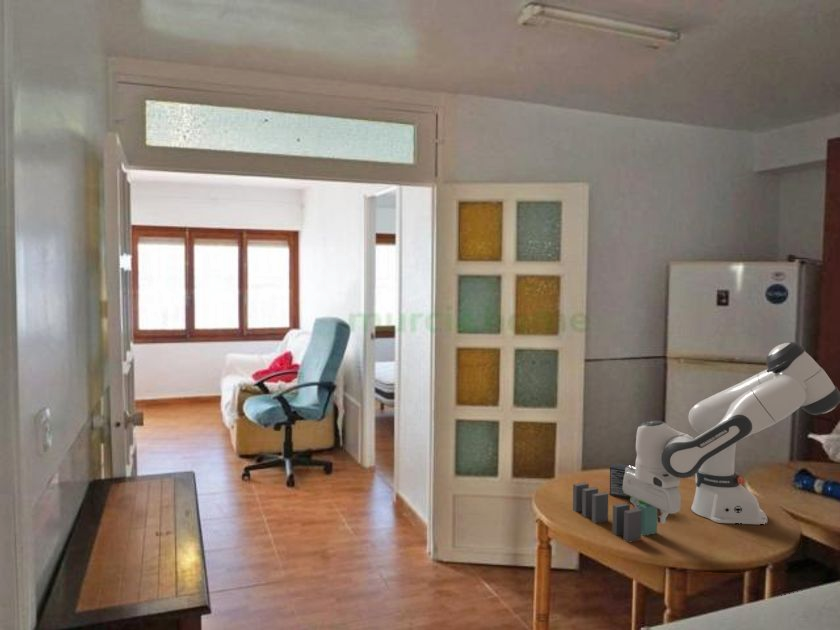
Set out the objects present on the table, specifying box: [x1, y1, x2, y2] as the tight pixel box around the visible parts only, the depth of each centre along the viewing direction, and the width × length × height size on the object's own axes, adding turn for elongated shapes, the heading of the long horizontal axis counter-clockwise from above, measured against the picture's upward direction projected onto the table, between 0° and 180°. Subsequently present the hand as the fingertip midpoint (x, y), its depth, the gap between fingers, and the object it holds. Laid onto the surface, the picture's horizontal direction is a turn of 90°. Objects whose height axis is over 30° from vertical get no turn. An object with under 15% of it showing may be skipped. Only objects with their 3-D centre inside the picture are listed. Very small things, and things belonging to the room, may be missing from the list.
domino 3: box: [591, 491, 609, 524], centre depth 195 cm, size 2×5×9 cm, turn 112°
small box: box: [608, 463, 635, 500], centre depth 218 cm, size 11×6×10 cm, turn 58°
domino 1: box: [572, 482, 590, 513], centre depth 205 cm, size 2×5×9 cm, turn 112°
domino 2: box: [581, 486, 599, 518], centre depth 200 cm, size 2×5×9 cm, turn 112°
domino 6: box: [641, 504, 658, 537], centre depth 186 cm, size 2×5×9 cm, turn 112°
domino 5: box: [623, 509, 642, 543], centre depth 181 cm, size 2×5×9 cm, turn 112°
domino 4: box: [612, 502, 631, 537], centre depth 186 cm, size 2×5×9 cm, turn 112°
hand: (649, 517), depth 185 cm, fingers open, 8 cm apart
